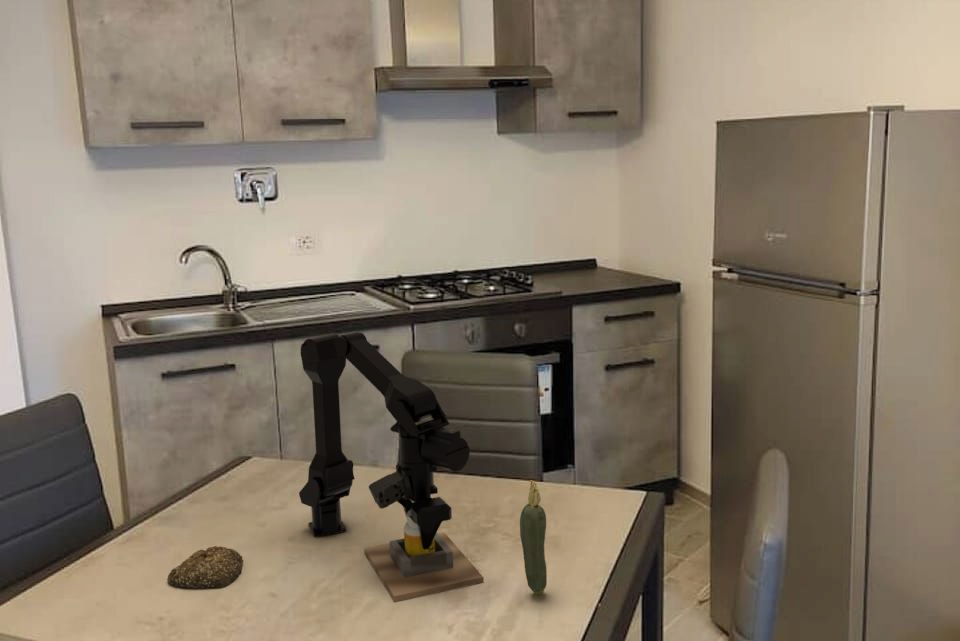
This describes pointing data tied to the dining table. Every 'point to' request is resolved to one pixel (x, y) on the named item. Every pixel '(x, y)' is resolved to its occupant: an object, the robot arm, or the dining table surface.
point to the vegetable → (534, 541)
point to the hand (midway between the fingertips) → (420, 541)
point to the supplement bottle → (414, 539)
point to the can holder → (422, 568)
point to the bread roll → (208, 569)
